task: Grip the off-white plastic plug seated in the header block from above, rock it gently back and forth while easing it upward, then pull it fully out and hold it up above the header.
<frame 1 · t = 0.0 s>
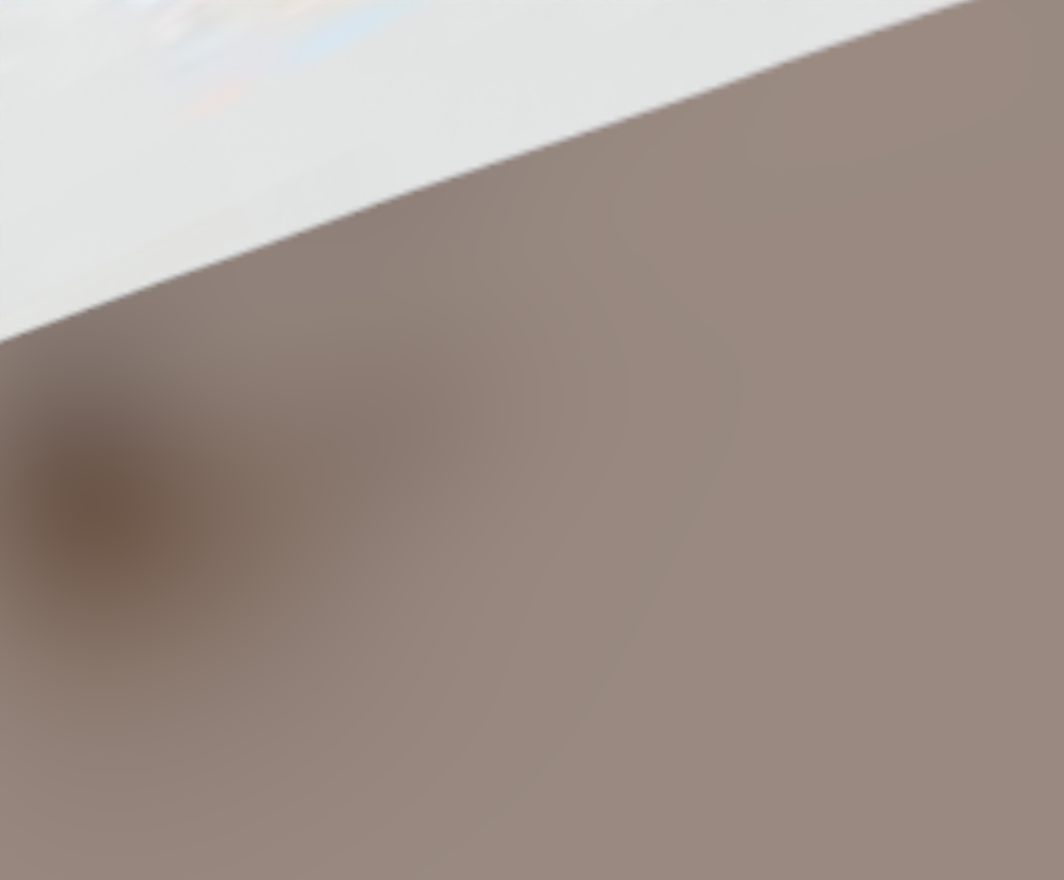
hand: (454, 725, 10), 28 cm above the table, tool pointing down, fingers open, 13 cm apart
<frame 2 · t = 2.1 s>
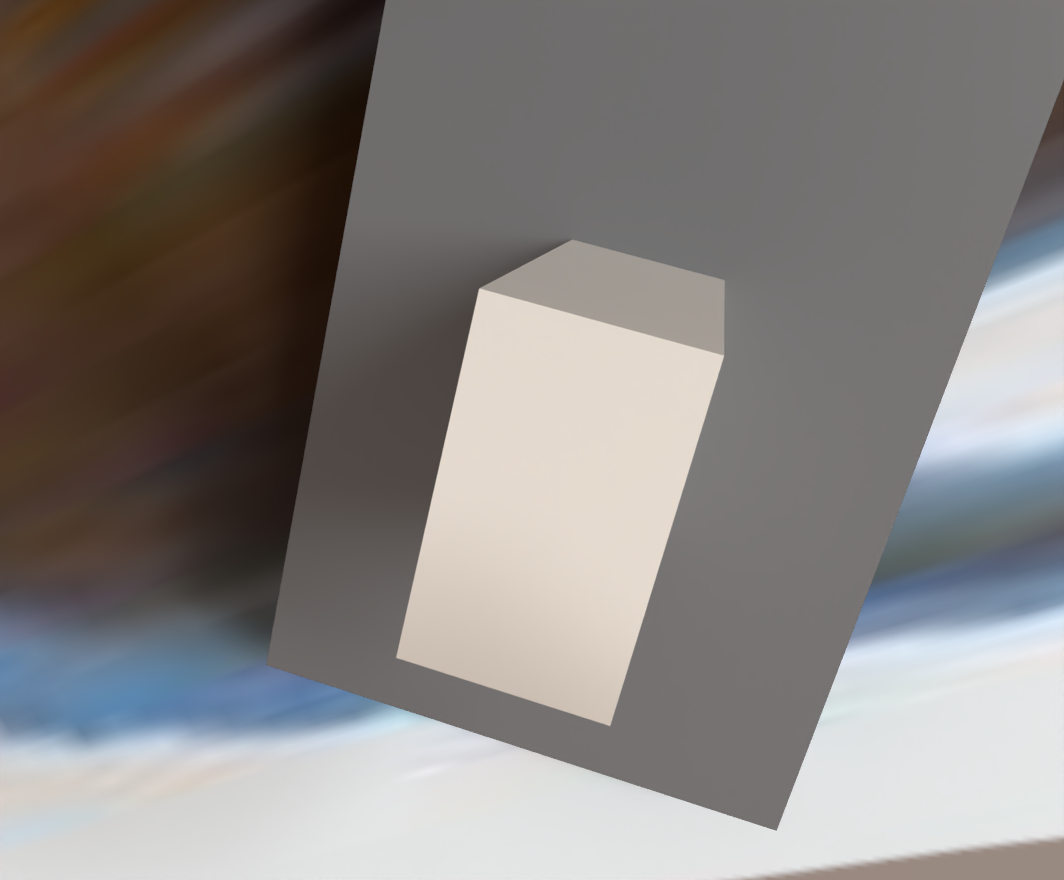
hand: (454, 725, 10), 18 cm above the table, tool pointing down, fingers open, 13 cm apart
plug: (599, 413, 21), in the header
header: (628, 354, 27), on the table
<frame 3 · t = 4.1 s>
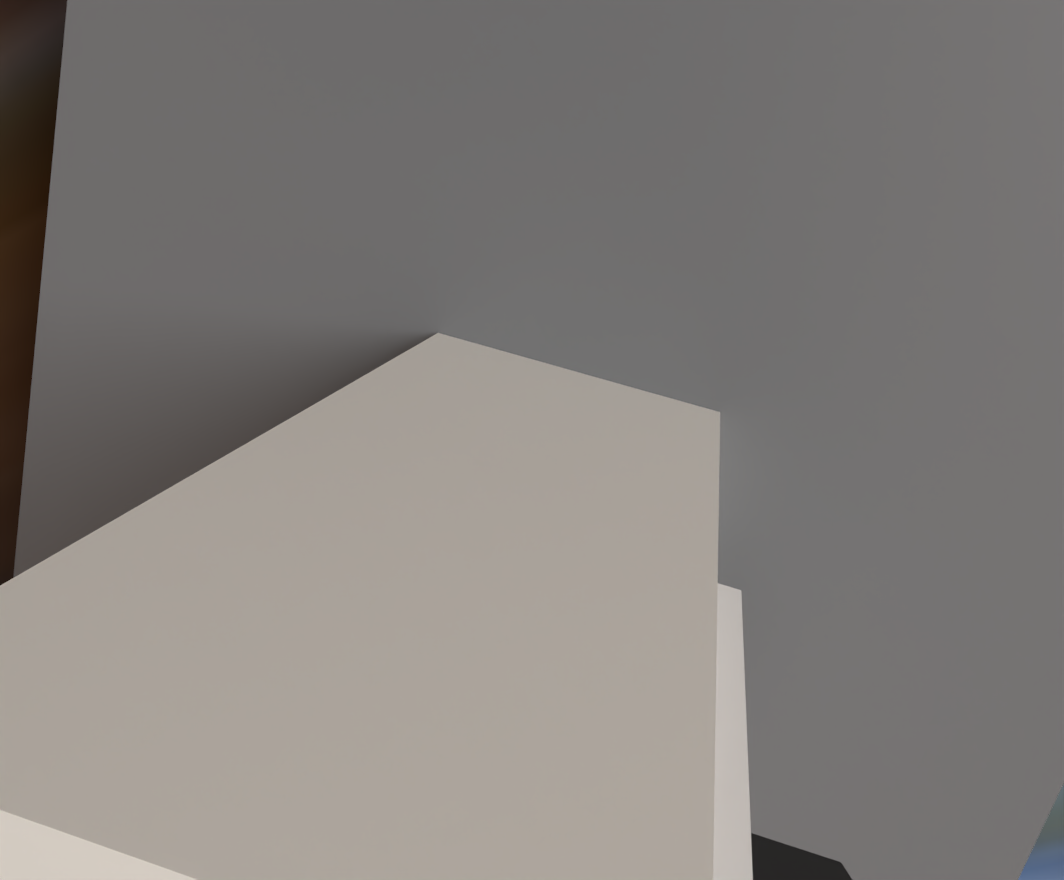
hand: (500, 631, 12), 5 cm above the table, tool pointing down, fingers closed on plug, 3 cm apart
plug: (468, 697, 10), in the header, touching gripper
header: (565, 497, 17), on the table
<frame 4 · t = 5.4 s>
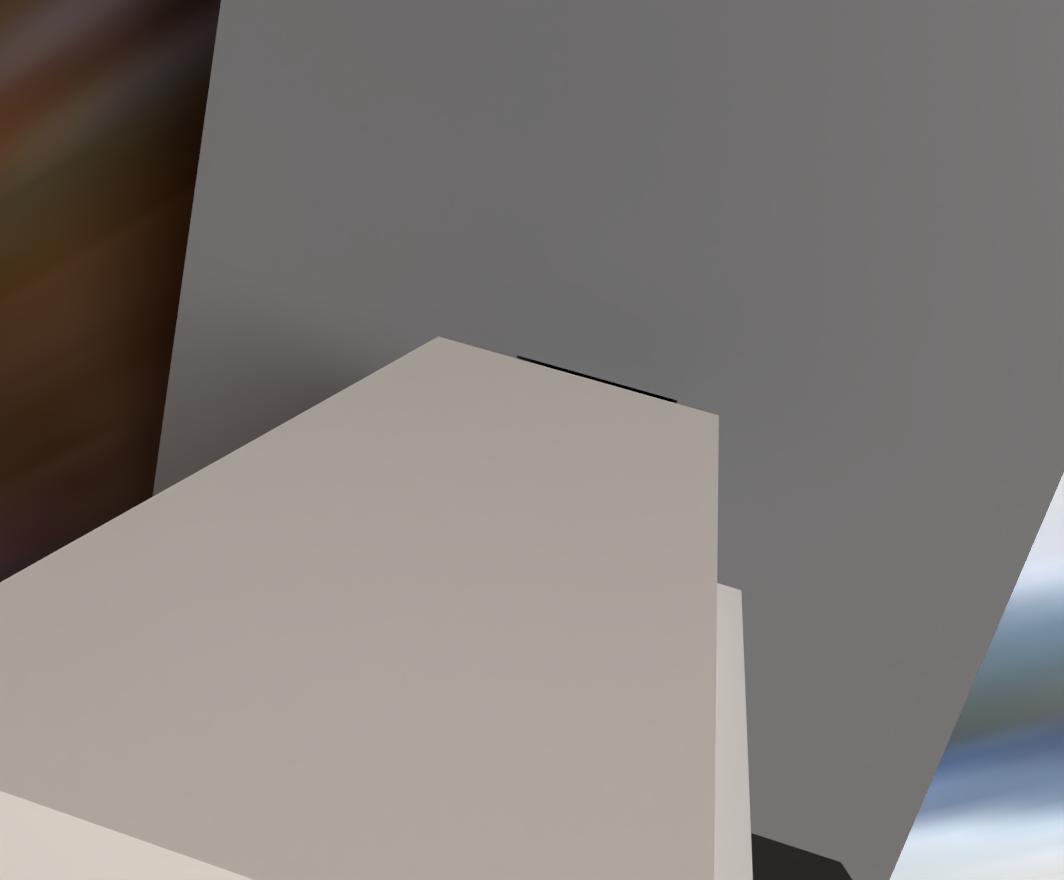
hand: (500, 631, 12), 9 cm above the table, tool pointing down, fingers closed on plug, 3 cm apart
plug: (468, 698, 10), point 10 cm above the table, touching gripper
header: (591, 446, 20), on the table
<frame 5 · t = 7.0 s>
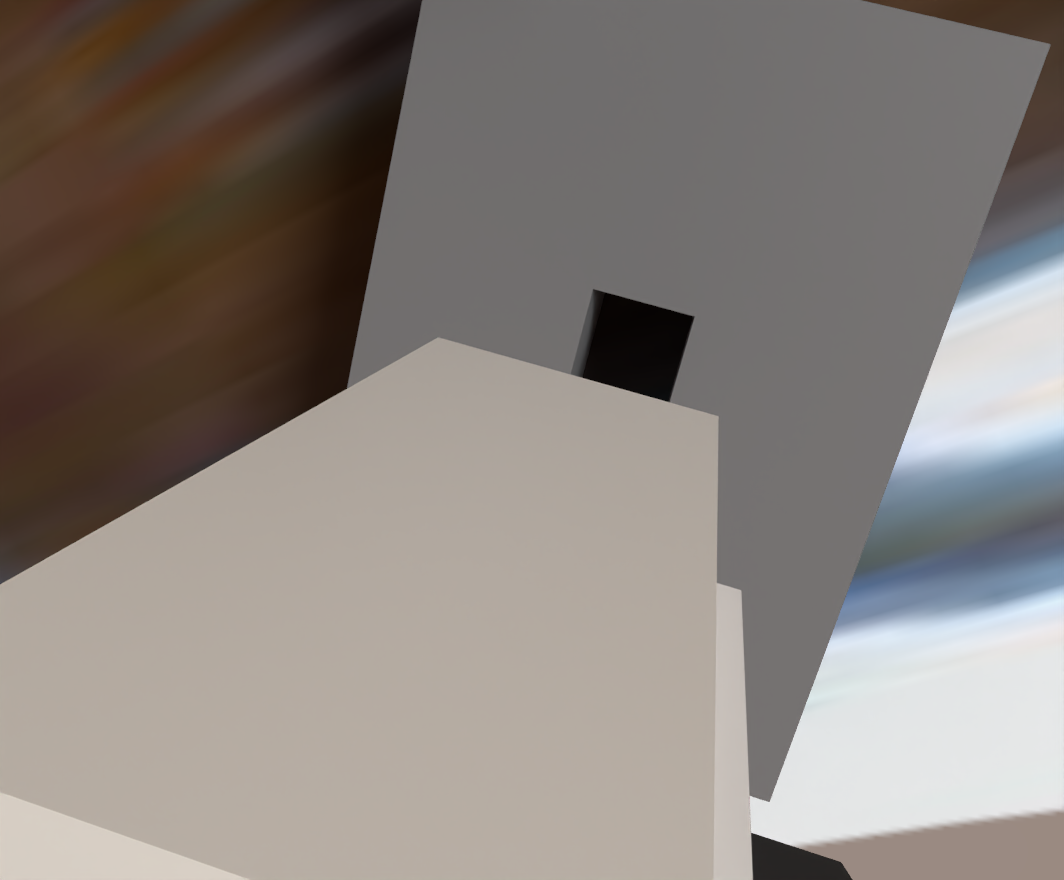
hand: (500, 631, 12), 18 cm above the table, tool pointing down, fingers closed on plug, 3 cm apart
plug: (468, 699, 10), point 20 cm above the table, touching gripper
header: (632, 362, 29), on the table
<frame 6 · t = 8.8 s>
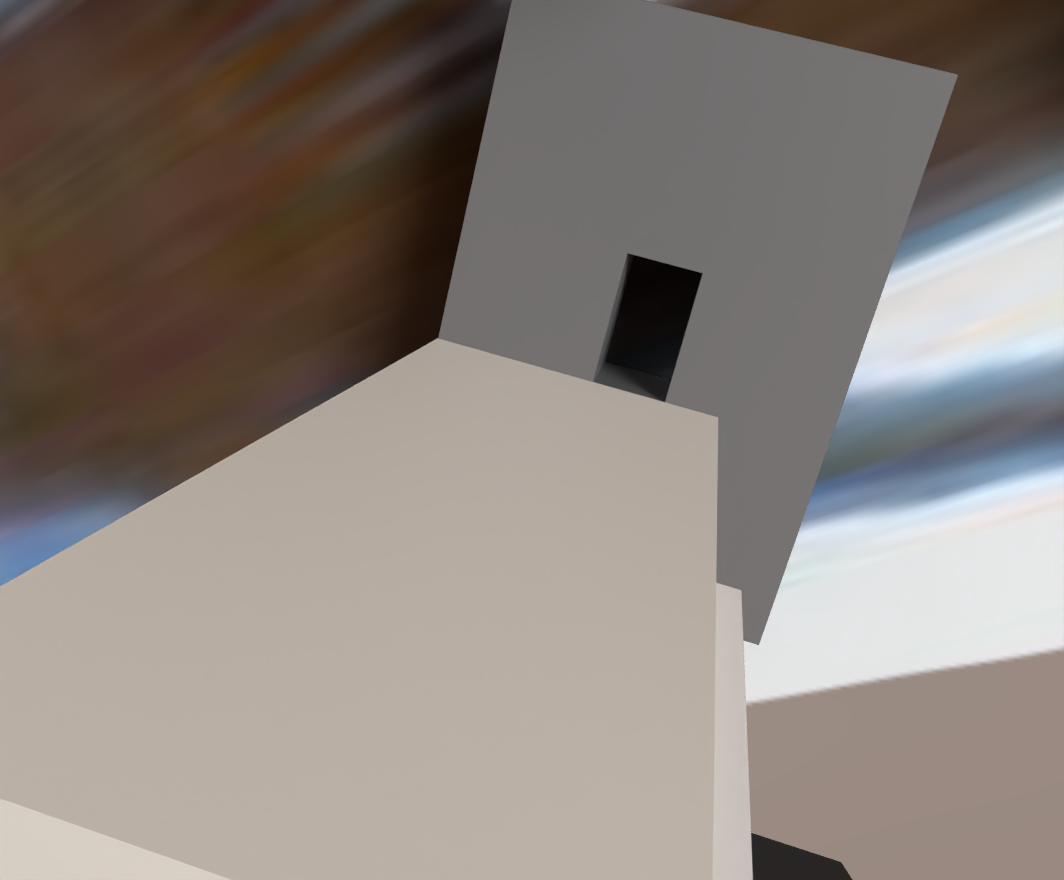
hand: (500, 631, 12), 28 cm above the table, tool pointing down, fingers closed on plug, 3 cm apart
plug: (467, 700, 10), point 29 cm above the table, touching gripper
header: (654, 313, 38), on the table
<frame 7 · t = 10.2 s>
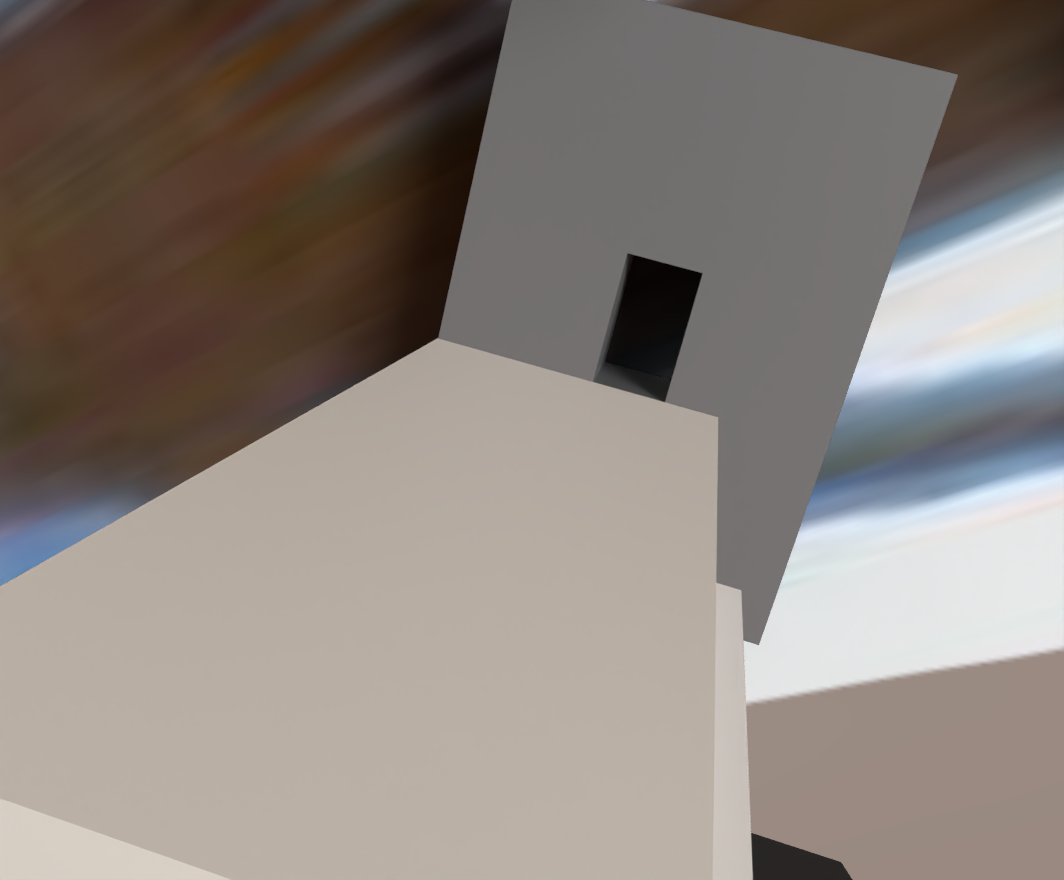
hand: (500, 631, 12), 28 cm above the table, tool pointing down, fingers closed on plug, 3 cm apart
plug: (467, 700, 10), point 29 cm above the table, touching gripper
header: (654, 313, 38), on the table
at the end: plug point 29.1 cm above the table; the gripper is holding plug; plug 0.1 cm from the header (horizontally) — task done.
